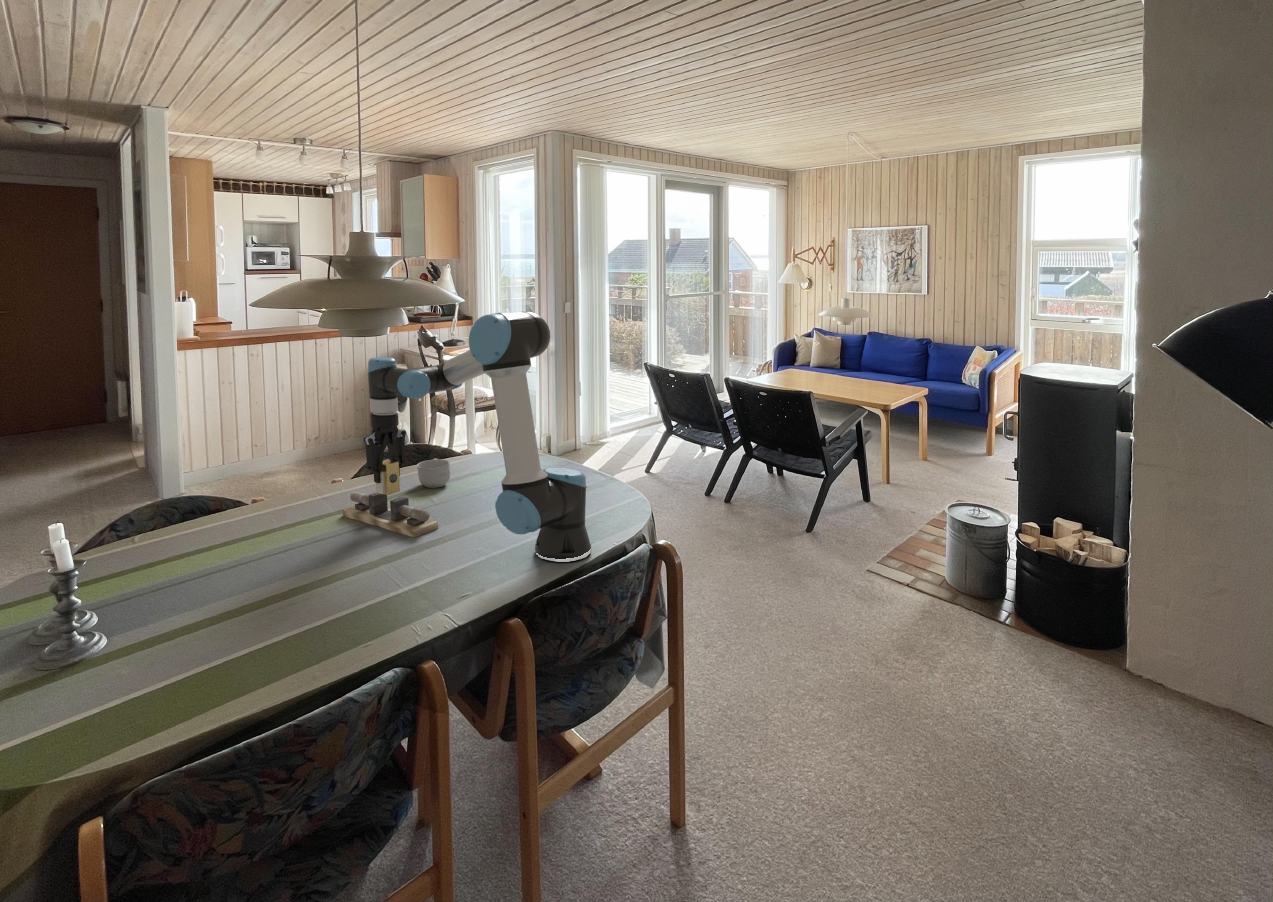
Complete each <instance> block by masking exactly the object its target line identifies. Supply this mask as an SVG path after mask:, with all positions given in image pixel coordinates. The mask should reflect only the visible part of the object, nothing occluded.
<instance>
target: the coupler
mask: <svg viewBox="0 0 1273 902" xmlns="http://www.w3.org/2000/svg"><path fill="white" fill-rule="evenodd" d="M381 471H382V472H384V486H385V495H387V496H389V495H393V494H396V493H399V492H401V485H400V484H401V483H400V477H399V462H398V461H393V460H391V459H389V458H387V459H383V463H382V470H381Z"/></svg>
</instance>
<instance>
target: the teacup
mask: <svg viewBox="0 0 1273 902" xmlns="http://www.w3.org/2000/svg"><path fill="white" fill-rule="evenodd" d="M450 463H451V462H450V461H449V460H446V459H441V458H433V459H429V460H423V461H420V462H418V463H417V464H416V468H417V475H418V480H419V483H420V484H421V485H422V486H424V487H426V488H430V489H432V488H433V489H435V488H441V487H443V486H445V485H446V484H447V483H448V482H449V481H450V479H451V466H450V465H451V464H450Z"/></svg>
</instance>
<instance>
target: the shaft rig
mask: <svg viewBox="0 0 1273 902" xmlns="http://www.w3.org/2000/svg"><path fill="white" fill-rule="evenodd" d="M349 498H350V500H351V502H353V503H354V502H355V503H356V504H355V503H354V505H353V506H350V507H348V508H344V509H342V516H343V517H345V518H349V519H351V520H354V519H355V520H354V521H358V522H361V521H362V522H361V523H365V524H367V525H368V524H369V525H370V526H371V525H372V526H375V527H378V528H381V529H384V530H385V529H386V530H388V531H391V532H395V533H399V534H402V535H404V536H408V537H411V538H418V537H420V536H421V535H425V534H427V533H430V532H432V531H435V530H438V529H439V523H438V521H436V520H432V519H430V515H431V514H430V512H429V511H428V510H425V509H422V508H417V507H413V506H410V504H409V501H410V500H409V497H407V496H400V497H398V498H394V499H390V500H389V505H390V506H388V495H385V494H380V493H376V492H373V493H370V494H366V493H362V492H358V491H352V493H351V494H350V496H349Z"/></svg>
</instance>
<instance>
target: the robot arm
mask: <svg viewBox="0 0 1273 902" xmlns="http://www.w3.org/2000/svg"><path fill="white" fill-rule="evenodd" d="M473 323H474V324H473V326H472V327H471V329H470V330H469V336H468V349H469V350H466V351H464V352H462V353H460V354H458V355H456V356H454V357H452V358H449V359H447V360H446V361H443V362H442V363H439V364H436V365H435V364H434V365H429V366H421V367H420V366H419V367H413V368H401V367H398V366H397V360H396V359H395V358H394V357H389V356H381V357H380V356H378V357H377V356H376V357H372V358H370V359H369V360H368V362H367V363H368V365H367V376H368V377H367V378H368V379H367V380H368V393H369V394H368V395H369V411H370V412H371V413H370V416H369V417H370V418H369V419H370V426H371V428H372V430H371V435H370V436H365V437H364V438H363V442H364V444H365V445H364V446H365V456H366V458H365V459H366V469H367V471H369V472H373V482H374V483H375V490H376V491H375V493H380V494H385V486H384V472H382V471H381V470H382V463H383V460H384V455H385V450H386V449H387V451H388V455H389V458H390V459H389V460H393V461H398V462H399V478H400V476H401V473H400V472H401V470H400V469H401V468H403V465H405V464H406V441H405V440H406V435H407V432H406V430H404V429H399V428H398V427H399V426H398V425H399V413H398V412H399V405H398V403H399V401H398V399H399V398H398V397H399V396H400V397H405V398H408V399H417V400H418V399H422V398H424V397H425V396H426V395H428V394H432V393H439V392H444V391H445V392H446V391H447V392H448V391H449V392H450V391H453V390H455V389H459V388H460V387H461V386H462V385H463V384H464V383H467V382H468V381H470V380H473V379H475V378H477V377H480V376H482V375H485V374H486V376H488V377H489V378H490V380H491V387H492V392H493V398H494V405H495V412H496V418H497V424H498V430H499V436H500V443H501V449H502V456H503V462H504V467H505V476H504V477H503V478H502V479H501V489H502V491H501V493H499V494H498V496H497V498H496V500H495V503H494V504H495V513H496V515H497V518H498V520H499V522H500V523H501V524H502V526H503V527H505V528H506V530H508V531H509V532H510V533H513V534H515V535H525V534H526V535H527V534H529V533H534V532H536V531H538V530H539V533H538V535H537V538H536V540H535V544H534V552H535V551H536V553H538V554H539V555H541V556H543V557H547V558H555V559H566V558H574V557H578V556H581V555H583V554H584V553H586V552H588V551H589V550H590V549H591V550H592V543H591V541H590V537H589V533H588V531H587V530H588V529H587V526H586V505H587V504H586V503H587V501H586V499H587V496H586V495H587V482H586V475H585V474H584V473H583V472H581V471H579V470H576V469H572V468H563V467H548V468H544V469H542V467H541V463H540V457H539V455H540V454H539V450H538V449H539V448H538V441H537V437H536V429H535V424H534V423H535V422H534V416H533V409H532V404H531V403H532V402H531V396H530V390H529V383H528V382H529V381H528V377H527V373H528V372H529V370H530V368H531V367H532V362H531V361H532V360H531V359H532V358H536V357H538V356H540V355H542V354H543V353H544V352H545V351H546V350H547V348H548V347H549V345H550V343H551V330H550V326H549V325H548V323H547V321H545V319H544V318H543V317H542V316H540V315H539V314H538V313H534V312H531V311H519V312H517V311H516V312H513V311H512V312H494V313H490V314H485V315H482V316H481V317H479V318H477V319H476V320H475V322H473Z"/></svg>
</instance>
